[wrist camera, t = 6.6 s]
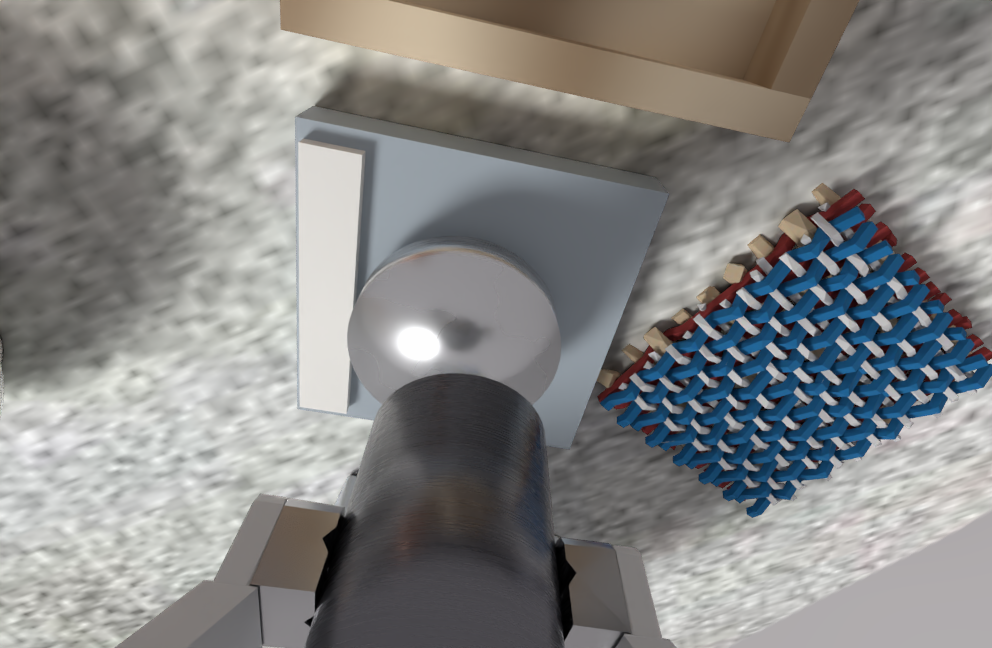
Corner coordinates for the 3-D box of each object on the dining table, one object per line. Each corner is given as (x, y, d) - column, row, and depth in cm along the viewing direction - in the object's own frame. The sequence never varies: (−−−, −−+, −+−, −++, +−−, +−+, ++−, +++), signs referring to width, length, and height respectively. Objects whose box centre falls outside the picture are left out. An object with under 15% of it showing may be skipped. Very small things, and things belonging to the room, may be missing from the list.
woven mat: (981, 343, 19) (1028, 377, 17) (741, 489, 24) (760, 528, 22) (829, 159, 16) (870, 180, 14) (579, 372, 20) (587, 408, 18)
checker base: (310, 382, 20) (293, 416, 18) (313, 106, 14) (289, 120, 13) (565, 421, 21) (570, 457, 19) (655, 177, 15) (673, 198, 14)
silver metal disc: (351, 388, 17) (342, 414, 16) (363, 216, 14) (352, 234, 13) (531, 416, 17) (533, 442, 16) (581, 257, 14) (587, 278, 13)
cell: (380, 358, 11) (179, 936, 4) (566, 390, 11) (655, 964, 5) (366, 485, 13) (220, 1001, 6) (523, 508, 13) (541, 1016, 7)
